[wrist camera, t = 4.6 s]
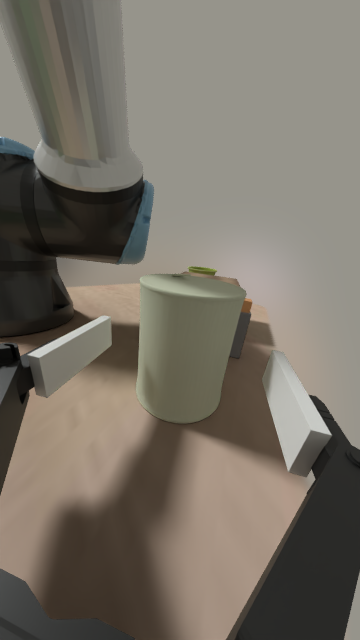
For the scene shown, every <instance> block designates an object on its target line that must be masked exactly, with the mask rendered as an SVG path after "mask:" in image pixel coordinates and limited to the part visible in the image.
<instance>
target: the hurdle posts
mask: <svg viewBox="0 0 360 640" xmlns="http://www.w3.org/2000/svg"><path fill="white" fill-rule="evenodd" d="M250 317H251V313H245V312H241V313H240V316H239V320H238V324H237V328H236V331H235V335H234V339H233V343H232V347H231V351H230V355H229V356H230V357H234V358H239V357H240V353H241V350H242V346H243V342H244V339H245V335H246V332H247V328H248V324H249V321H250Z"/></svg>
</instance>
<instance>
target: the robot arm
mask: <svg viewBox="0 0 360 640" xmlns="http://www.w3.org/2000/svg"><path fill="white" fill-rule="evenodd" d="M0 24H1V27H2V29H3V32H4V35H5V38H6V40H7V43H8V46H9V49H10V52H11V54H12V57H13V60H14V62H15V65H16V68H17V71H18V74H19V76H20V79H21V82H22V84H23V87H24V90H25V93H26V96H27V98H28V101H29V104H30V107H31V109H32V112H33V115H34V118H35V120H36V123H37V126H38V129H39V132H40V134H41V137H42V138H41V141H40V143H39V145H38V147H37V149H36V151H34V150H32V149H31V148H29V147H27V146H25V145H23V144H21V143H19V142H16V141H14V140H11V139H8V138H5V137H0V337H2V336H15V335H23V334H29V333H34V332H39V331H43V330H47V329H50V328H54V327H56V326H59V325H61V324H64V323H65V322H67V321H69V320H70V319H71V318H72V317H73V315H74V309H73V302H72V300H71V298H70V296H69V294H68V292H67V290H66V288H65V286H64V284H63V282H62V280H61V278H60V276H59V274H58V269H57V262H56V257H60V258H70V259H79V260H87V261H95V262H104V263H112V264H117V265H119V264H137V263H139V262H141V261H142V260H143V258H144V255H145V251H146V245H147V240H148V233H149V226H150V219H151V212H152V205H153V196H154V195H153V194H154V187H153V185H152V184H151V183H149V182H148V181H146V180H144V181H143V166H142V163H141V161H140V159H139V158H138V157H137V155H136V154H135V153H134V152H133V151H132V149H131V148H130V146H129V137H128V119H127V101H126V83H125V66H124V47H123V30H122V29H123V28H122V11H121V0H0ZM111 345H112V334H111V317H108V316H101V317H99V318H97V319H95V320H93V321H91V322H89V323H87V324H85V325H83V326H82V327H80V328H78V329H76V330H74V331H72V332H70V333H68V334H66V335H64V336H62V337H60V338H57V339H53V340H51V341H49V342H47V343H46V344H43V345H41V346H40V347H38V348H36V349H34V350H32V351H30V352H28V353H26V354H24V355H22V356H20V353H19V349H18V345H17V344H15V343H1V344H0V494H1V491H2V488H3V484H4V481H5V477H6V474H7V471H8V467H9V464H10V460H11V457H12V454H13V450H14V447H15V443H16V440H17V437H18V433H19V430H20V426H21V423H22V419H23V416H24V413H25V409H26V406H27V402H28V399H29V390H30V389H32V388H33V387H35V392H36V395H39V396H42V397H46V398H48V397H49V396H50V395H51V394H53V393H54V392H55V391H56V390H58V389H59V388H60V387H61V386H62V385H64V384H65V383H66V382H67V381H69V380H70V379H71V378H72V377H73V376H75V375H76V374H77V373H78V372H80V371H81V370H82V369H83V368H84V367H86V366H87V365H88V364H89V363H91V362H92V361H93V360H94V359H95V358H97V357H98V356H99V355H100V354H102V353H103V352H104V351H105V350H106V349H108V348H109V347H110V346H111ZM262 382H263V386H264V389H265V393H266V396H267V400H268V403H269V407H270V410H271V414H272V417H273V421H274V424H275V427H276V431H277V434H278V438H279V441H280V445H281V448H282V452H283V455H284V459H285V462H286V466H287V469H288V472H290V473H294V474H297V475H300V476H303V477H307V476H308V474H309V472H310V471H311V469H312V471H313V474H314V476H315V479H316V480H315V481H314V483H313V484H312V486H311V487H310V489H309V490H308V492H307V495H306V497H305V499H304V501H303V502H302V504H301V506H300V508H299V510H298V511H297V513H296V515H295V517H294V519H293V520H292V522H291V524H290V526H289V528H288V529H287V531H286V533H285V535H284V536H283V538H282V540H281V542H280V544H279V545H278V547H277V549H276V551H275V553H274V554H273V556H272V558H271V560H270V562H269V563H268V565H267V567H266V569H265V571H264V572H263V574H262V576H261V578H260V580H259V581H258V583H257V585H256V587H255V589H254V590H253V592H252V594H251V596H250V598H249V599H248V601H247V603H246V605H245V607H244V608H243V610H242V612H241V614H240V616H239V617H238V619H237V621H236V623H235V625H234V626H233V628H232V630H231V632H230V634H229V635H228V637H227V639H226V640H344V636H345V632H346V628H347V623H348V619H349V615H350V610H351V606H352V602H353V597H354V593H355V589H356V584H357V580H358V576H359V572H360V450H359V449H357V448H356V447H354V446H352V445H351V444H350V442H349V441H348V439H347V438H346V437H345V435H344V433H343V432H342V430H341V429H340V427H339V426H338V424H337V423H336V421H334V418H333V416H332V415H331V414H330V412H329V410H328V409H327V407H326V406H325V404H324V403H323V402H322V401H320V400H319V399H318V398H317V397H316V396H312V395H308V394H307V392H306V390H305V388H304V387H303V385H302V383H301V382H300V380H299V378H298V376H297V375H296V373H295V372H294V370H293V368H292V366H291V365H290V363H289V361H288V359H287V358H286V356H285V354H284V353H283V352H280V351H275V350H272V352H271V355H270V358H269V361H268V363H267V366H266V369H265V372H264V375H263V378H262ZM0 640H135V638H133V637H131V636H129V635H127V634H126V633H124V632H122V631H120V630H118V629H116V628H114V627H112V626H110V625H108V624H106V623H104V622H102V621H101V620H99V619H97V618H94V619H56V620H55V619H50V618H49V617H48V616H47V614H46V613H45V611H44V610H43V608H42V607H41V605H40V603H39V602H38V600H37V599H36V597H35V596H34V594H33V593H32V591H31V589H30V588H29V586H28V585H27V583H26V582H25V581H23V580H21V579H20V578H18V577H16V576H14V575H12V574H10V573H8V572H6V571H4V570H2V569H0Z"/></svg>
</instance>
